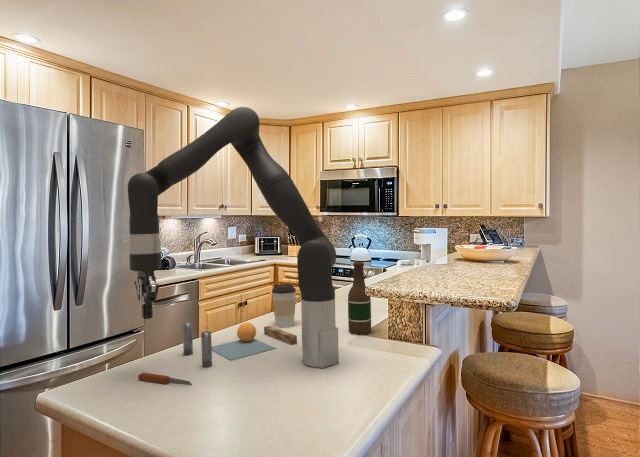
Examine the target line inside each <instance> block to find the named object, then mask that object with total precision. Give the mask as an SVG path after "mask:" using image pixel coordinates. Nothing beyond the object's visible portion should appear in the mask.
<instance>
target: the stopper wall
mask: <svg viewBox="0 0 640 457" xmlns="http://www.w3.org/2000/svg"><path fill="white" fill-rule="evenodd" d="M263 332H264V333H263V334H264V335H266V336H267V337H270V338H273V339H275V338H276V340H278V341H280V340H281V342H283V343H286V344H289V345H291V346H292V345H296V344H298V335H297V334H294V333H290V332H288V331H285V330H282V329H279V328H278V327H277V328H276V327H273V326H271V325H267V326H263Z"/></svg>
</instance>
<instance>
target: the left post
mask: <svg viewBox="0 0 640 457" xmlns="http://www.w3.org/2000/svg"><path fill="white" fill-rule="evenodd" d="M193 340H194V338H193V322H192V321H191V322H190V321H188V322H187V321H186V322H183V323H182V343H183V346H182V347H183V355H184V356H191V355H193V353H194V349H193V348H194V347H193V345H194V344H193V343H194V341H193Z"/></svg>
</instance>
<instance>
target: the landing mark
mask: <svg viewBox="0 0 640 457" xmlns="http://www.w3.org/2000/svg"><path fill="white" fill-rule="evenodd" d="M275 349H277V348H276V347H275V346H273V345H270V344H268V343H265V342H263V341H260V340H259V339H256V338H254V339H252V340H251V341H249V342H244V341H241V340H240V339H237V340H234V341H229V342H226V343H221V344H217V345H213V346H212V352H214V353H216V354H218V355H220V356H222V357H223V358H225V359H227V360H229V361H234V360H238V359H243V358H246V357H250V356H253V354H254V355H257V354H260V353H265V352H268V350H269V351H272V350H275Z"/></svg>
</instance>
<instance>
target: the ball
mask: <svg viewBox="0 0 640 457" xmlns="http://www.w3.org/2000/svg"><path fill="white" fill-rule="evenodd" d="M236 335H237V338H238V340H241V341H244V342H249V341H251V340H252V339H255V337H256V335H257V330H256V327H255V325H254V324H253V323H251V322H243V323H241V324H240V325H239V326H238V328H237V330H236Z"/></svg>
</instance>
